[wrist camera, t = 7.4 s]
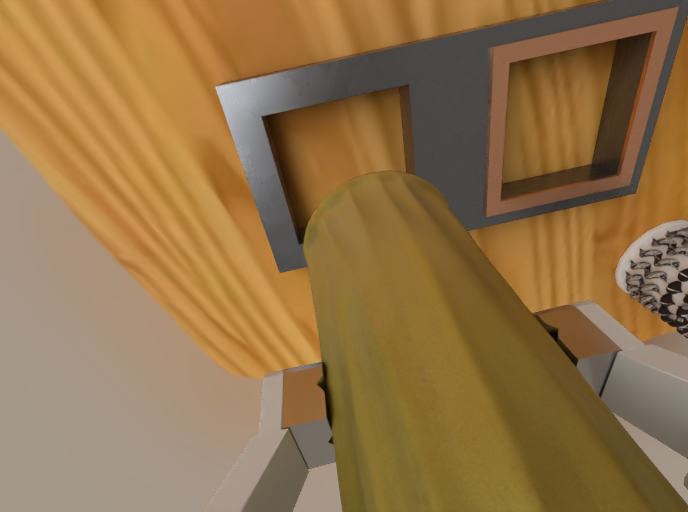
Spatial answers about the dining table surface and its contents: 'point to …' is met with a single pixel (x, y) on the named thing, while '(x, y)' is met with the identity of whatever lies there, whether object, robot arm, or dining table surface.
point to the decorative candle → (659, 272)
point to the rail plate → (472, 112)
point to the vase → (452, 372)
